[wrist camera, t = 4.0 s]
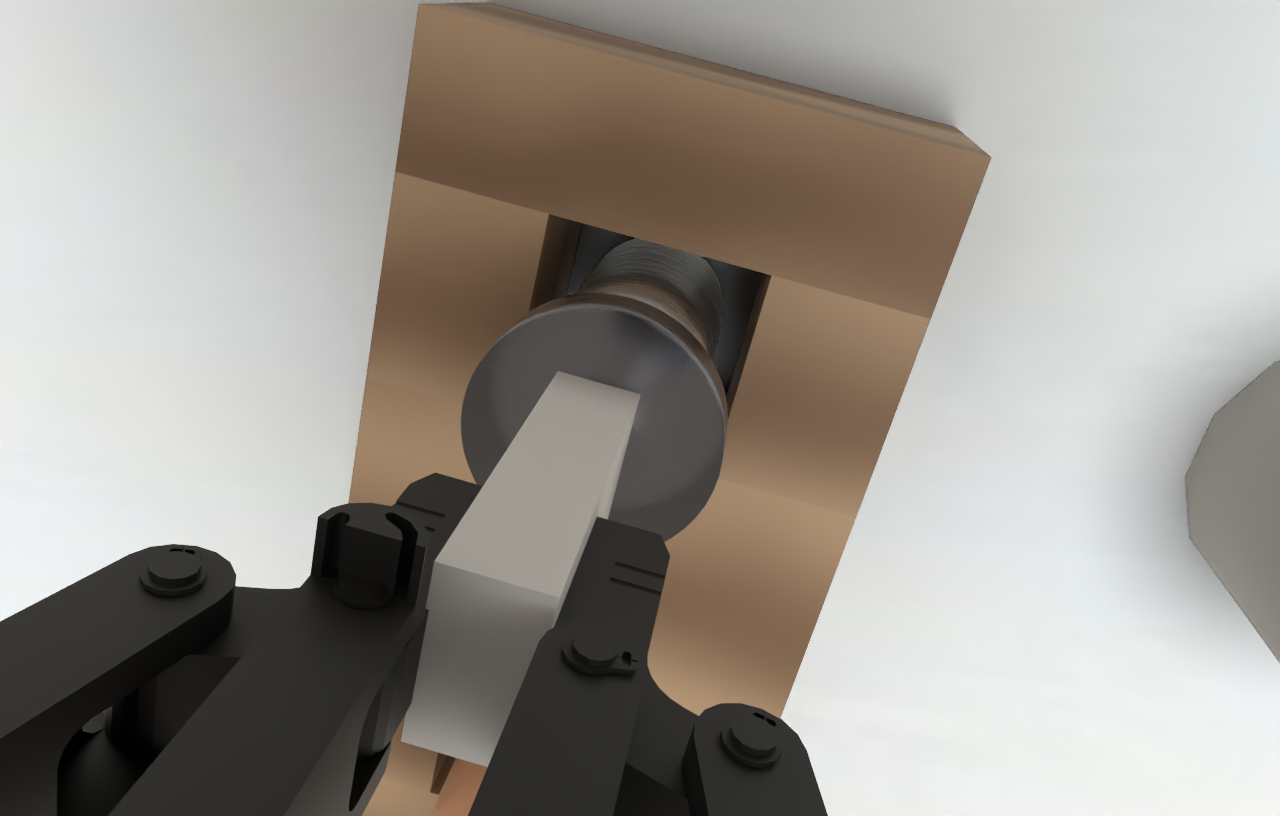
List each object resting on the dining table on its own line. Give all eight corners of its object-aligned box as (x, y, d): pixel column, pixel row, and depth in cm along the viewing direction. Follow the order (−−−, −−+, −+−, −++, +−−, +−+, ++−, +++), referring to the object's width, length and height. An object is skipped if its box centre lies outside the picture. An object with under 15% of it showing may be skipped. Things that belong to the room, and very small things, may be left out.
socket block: (488, 2, 25) (419, 4, 21) (956, 128, 25) (991, 157, 20) (366, 733, 35) (300, 845, 30) (702, 834, 34) (688, 964, 30)
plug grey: (584, 190, 25) (485, 279, 17) (770, 241, 25) (756, 355, 17) (546, 364, 27) (441, 516, 19) (719, 412, 27) (685, 586, 19)
